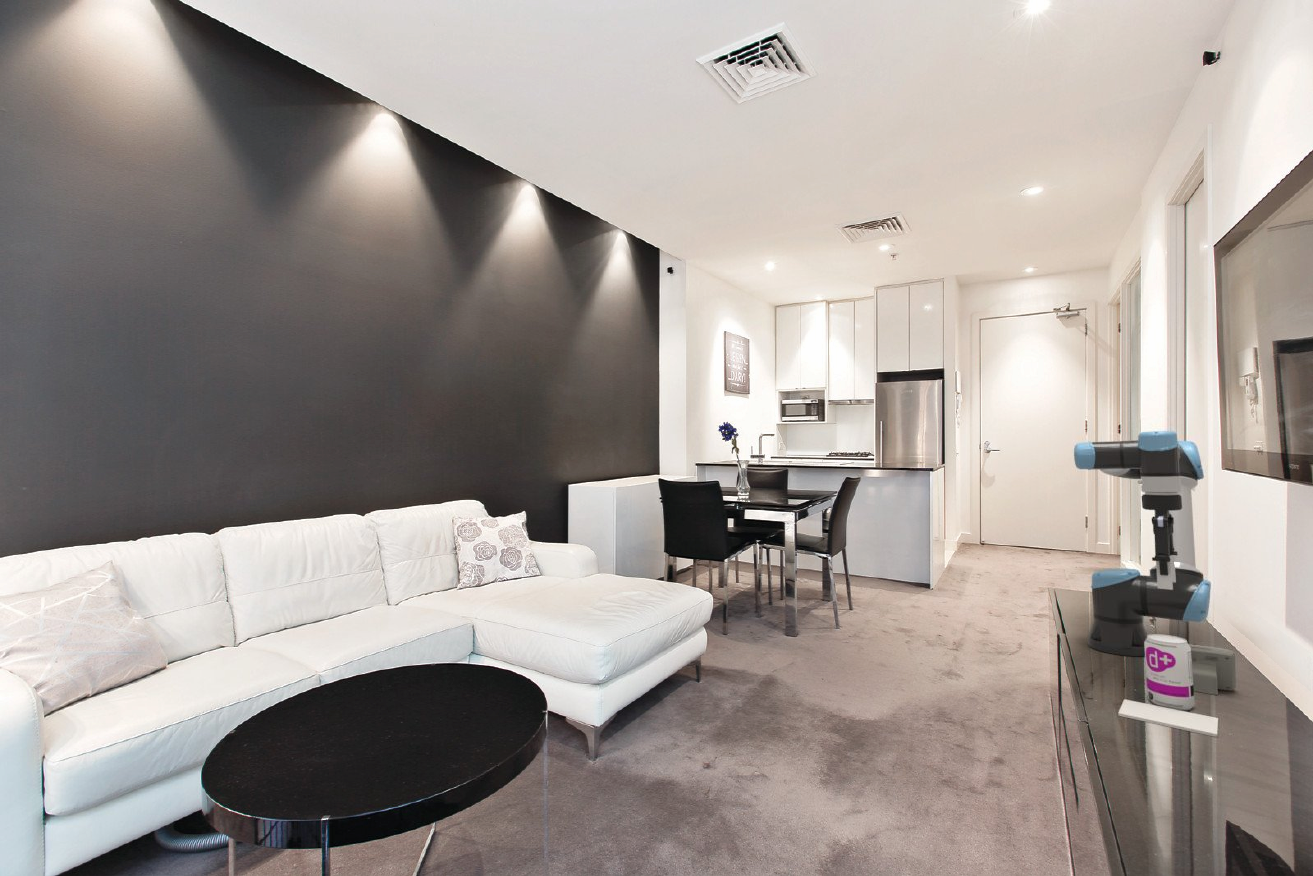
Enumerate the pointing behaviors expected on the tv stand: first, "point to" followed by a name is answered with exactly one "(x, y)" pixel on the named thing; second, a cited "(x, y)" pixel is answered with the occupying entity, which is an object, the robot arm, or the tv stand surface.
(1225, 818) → the tv stand surface
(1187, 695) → the supplement can
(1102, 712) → the tv stand surface
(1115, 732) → the tv stand surface
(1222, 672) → the digital clock
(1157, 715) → the mat
